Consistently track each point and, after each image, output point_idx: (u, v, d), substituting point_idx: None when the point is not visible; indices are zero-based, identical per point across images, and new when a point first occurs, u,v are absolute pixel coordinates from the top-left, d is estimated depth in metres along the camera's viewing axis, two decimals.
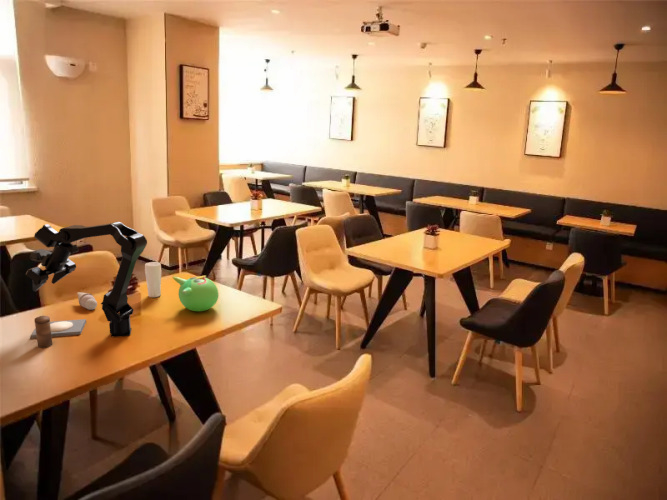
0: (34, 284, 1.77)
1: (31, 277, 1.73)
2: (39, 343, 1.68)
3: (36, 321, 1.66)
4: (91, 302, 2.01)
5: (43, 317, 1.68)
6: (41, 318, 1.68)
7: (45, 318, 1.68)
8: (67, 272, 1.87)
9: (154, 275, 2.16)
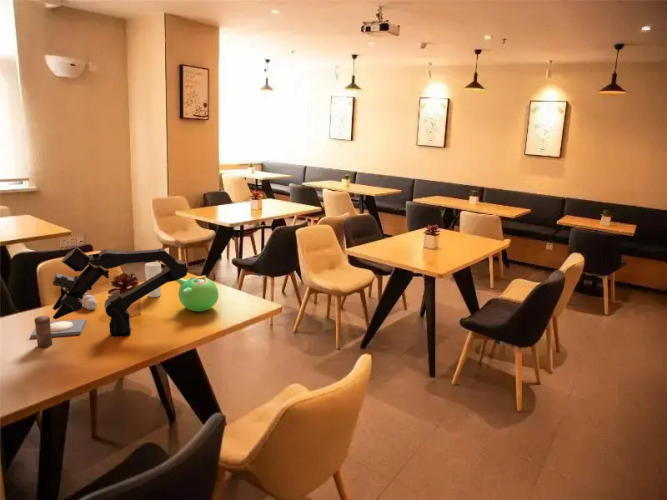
0: (60, 311, 1.65)
1: (70, 304, 1.63)
2: (39, 343, 1.68)
3: (36, 321, 1.66)
4: (91, 302, 2.01)
5: (43, 317, 1.68)
6: (41, 318, 1.68)
7: (45, 318, 1.68)
8: None
9: (154, 275, 2.16)
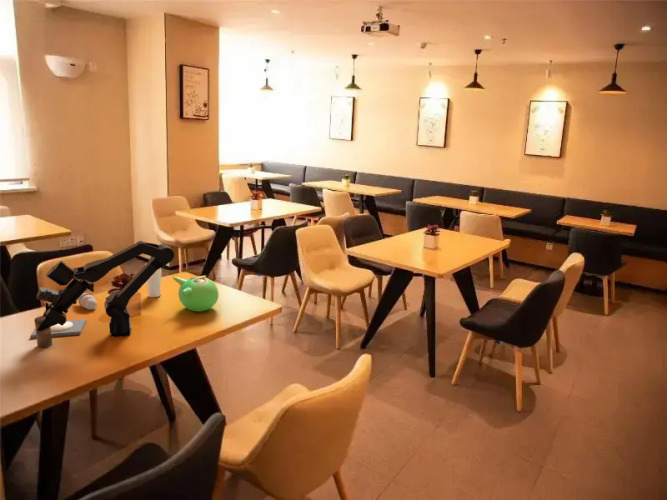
0: (44, 323, 1.65)
1: (54, 319, 1.61)
2: (39, 343, 1.68)
3: (36, 321, 1.66)
4: (91, 302, 2.01)
5: (43, 317, 1.68)
6: (41, 318, 1.68)
7: None
8: None
9: (154, 275, 2.16)
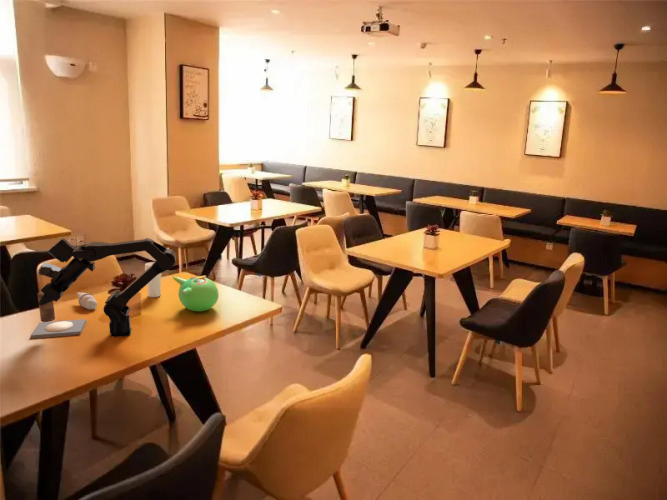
0: (44, 298, 1.69)
1: (48, 294, 1.64)
2: (41, 317, 1.72)
3: (38, 295, 1.71)
4: (91, 302, 2.01)
5: None
6: None
7: None
8: (64, 289, 1.77)
9: None
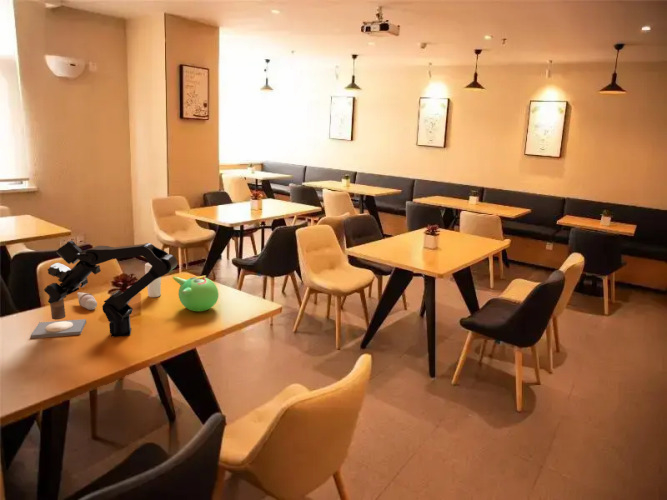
0: (52, 297, 1.76)
1: (50, 294, 1.69)
2: (51, 314, 1.80)
3: None
4: (91, 302, 2.01)
5: None
6: None
7: None
8: (75, 289, 1.83)
9: None
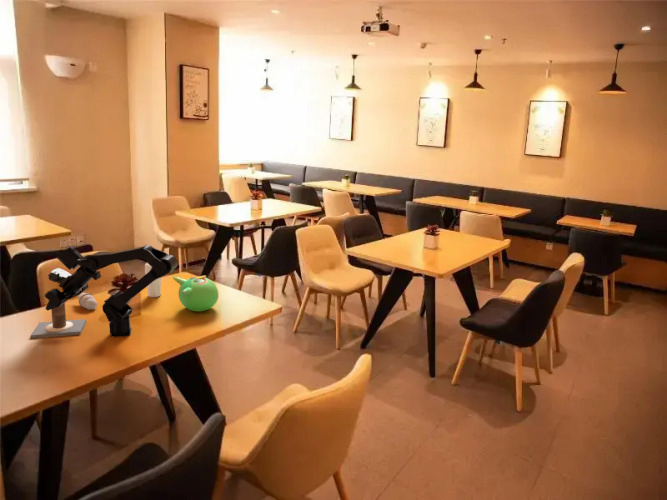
0: (49, 304, 1.75)
1: (50, 299, 1.70)
2: (52, 323, 1.81)
3: None
4: (91, 302, 2.01)
5: None
6: None
7: None
8: (78, 293, 1.85)
9: None
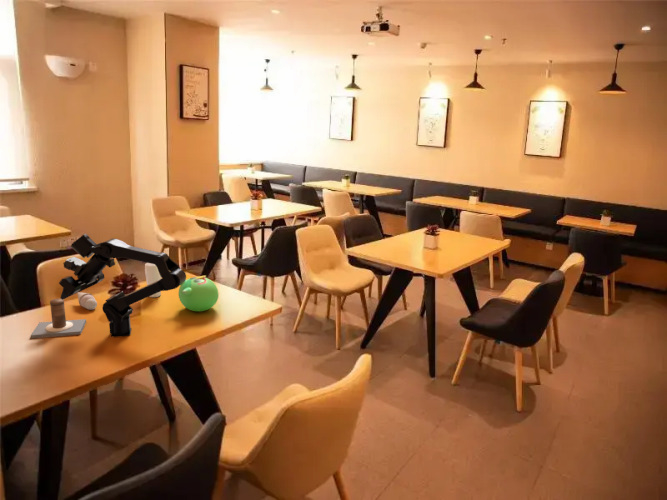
0: (64, 293, 1.74)
1: (64, 287, 1.69)
2: (52, 323, 1.81)
3: (50, 302, 1.79)
4: (91, 302, 2.01)
5: (58, 300, 1.80)
6: (56, 300, 1.80)
7: (58, 301, 1.79)
8: (95, 282, 1.84)
9: (154, 275, 2.16)
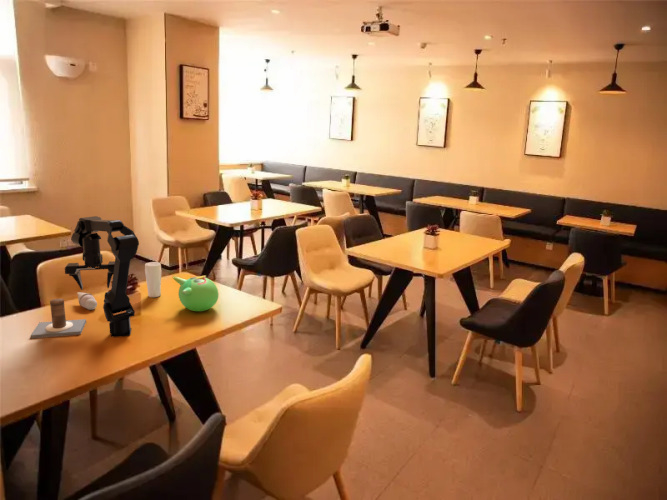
0: None
1: None
2: (52, 323, 1.81)
3: (50, 302, 1.79)
4: (91, 302, 2.01)
5: (58, 300, 1.81)
6: (56, 300, 1.80)
7: (58, 301, 1.79)
8: (109, 272, 1.87)
9: (154, 275, 2.16)
